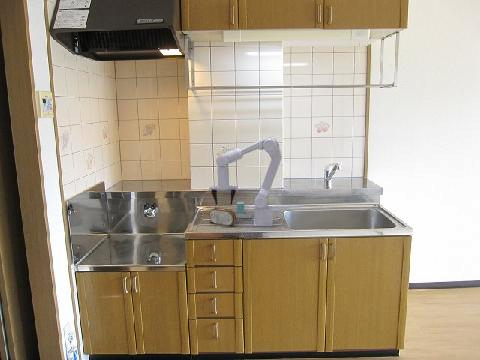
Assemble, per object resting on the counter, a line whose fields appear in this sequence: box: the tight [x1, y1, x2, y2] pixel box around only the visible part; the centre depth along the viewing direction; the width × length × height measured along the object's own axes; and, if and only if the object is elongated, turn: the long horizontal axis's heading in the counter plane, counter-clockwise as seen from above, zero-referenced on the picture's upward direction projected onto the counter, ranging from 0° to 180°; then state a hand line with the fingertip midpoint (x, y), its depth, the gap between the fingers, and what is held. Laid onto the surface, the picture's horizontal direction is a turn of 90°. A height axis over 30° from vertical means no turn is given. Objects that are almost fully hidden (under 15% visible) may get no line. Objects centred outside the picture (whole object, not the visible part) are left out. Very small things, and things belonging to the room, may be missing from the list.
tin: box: [208, 206, 237, 227], centre depth 199 cm, size 15×3×8 cm, turn 59°
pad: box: [235, 213, 253, 221], centre depth 213 cm, size 9×8×1 cm
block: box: [236, 201, 245, 214], centre depth 221 cm, size 4×4×6 cm
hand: (223, 204), depth 201 cm, fingers open, 7 cm apart
